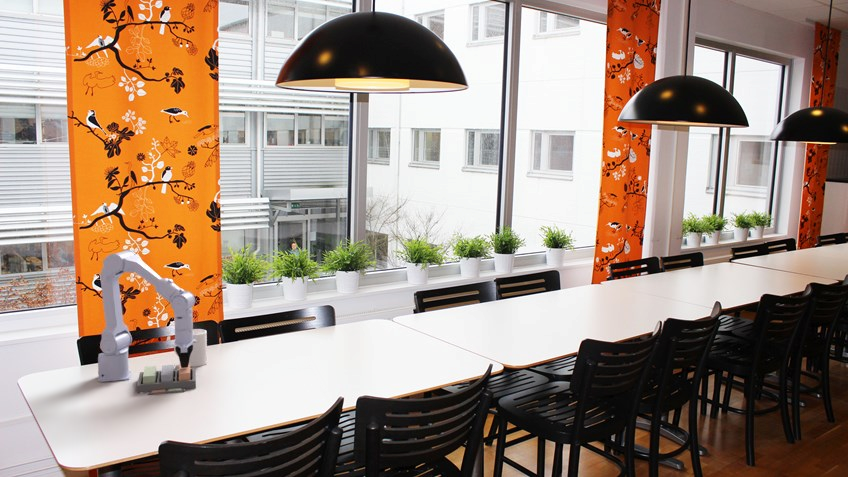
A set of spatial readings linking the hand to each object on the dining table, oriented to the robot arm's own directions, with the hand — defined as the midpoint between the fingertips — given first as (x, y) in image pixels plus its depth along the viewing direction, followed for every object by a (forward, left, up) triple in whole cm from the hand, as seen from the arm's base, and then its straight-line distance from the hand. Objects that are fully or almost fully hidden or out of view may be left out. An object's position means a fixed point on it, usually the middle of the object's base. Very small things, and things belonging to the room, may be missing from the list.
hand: (184, 367), depth 225 cm
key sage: (-11, 0, -4) cm, 12 cm away
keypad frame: (-6, 0, -5) cm, 8 cm away
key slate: (-6, 0, -4) cm, 7 cm away
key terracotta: (0, 0, -4) cm, 4 cm away
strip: (-6, -8, -5) cm, 11 cm away
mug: (+2, +20, -6) cm, 21 cm away
